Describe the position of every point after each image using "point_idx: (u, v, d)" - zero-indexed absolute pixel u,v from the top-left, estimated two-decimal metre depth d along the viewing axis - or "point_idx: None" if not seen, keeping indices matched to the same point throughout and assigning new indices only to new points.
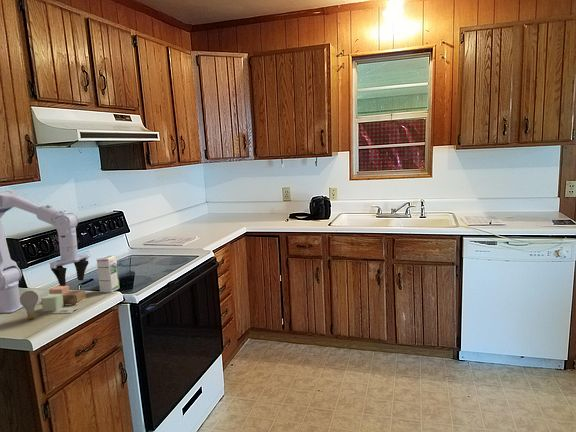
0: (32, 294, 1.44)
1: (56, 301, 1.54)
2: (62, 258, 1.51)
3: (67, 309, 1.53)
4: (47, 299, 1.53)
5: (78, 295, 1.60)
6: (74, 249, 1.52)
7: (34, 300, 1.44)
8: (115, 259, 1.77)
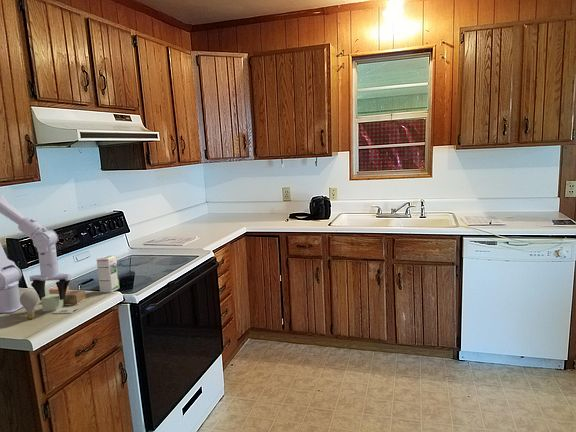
0: (32, 294, 1.44)
1: (56, 301, 1.54)
2: None
3: (67, 309, 1.53)
4: (47, 299, 1.53)
5: (78, 295, 1.60)
6: (44, 268, 1.51)
7: (34, 300, 1.44)
8: (115, 259, 1.77)
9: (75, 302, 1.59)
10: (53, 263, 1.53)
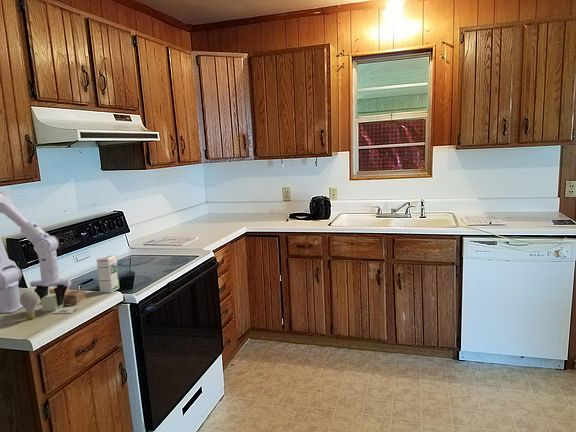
0: (32, 294, 1.44)
1: (56, 300, 1.54)
2: None
3: (67, 309, 1.53)
4: (47, 299, 1.53)
5: (78, 295, 1.60)
6: (45, 274, 1.52)
7: (34, 300, 1.44)
8: (115, 259, 1.77)
9: (75, 302, 1.59)
10: (54, 269, 1.53)
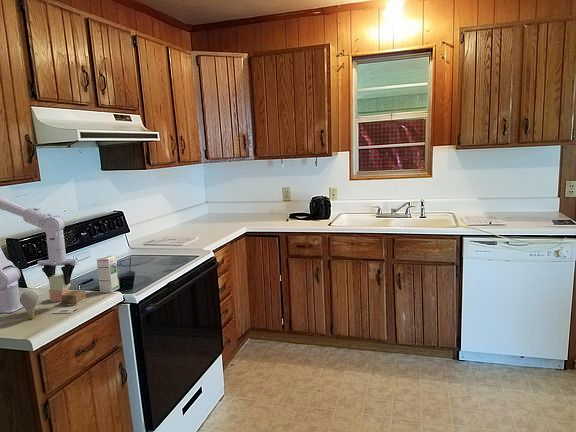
0: (32, 294, 1.44)
1: (63, 280, 1.55)
2: None
3: (67, 309, 1.53)
4: (55, 278, 1.55)
5: (77, 295, 1.60)
6: (52, 253, 1.54)
7: (34, 300, 1.44)
8: (115, 259, 1.77)
9: (74, 302, 1.59)
10: (62, 248, 1.55)
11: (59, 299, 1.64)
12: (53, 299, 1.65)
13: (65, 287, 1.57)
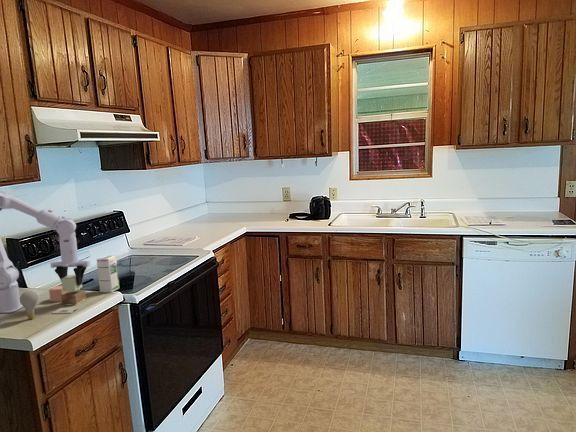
0: (32, 294, 1.44)
1: (75, 281, 1.60)
2: None
3: (67, 309, 1.53)
4: (67, 280, 1.59)
5: (77, 295, 1.60)
6: (65, 254, 1.58)
7: (34, 300, 1.44)
8: (115, 259, 1.77)
9: (74, 302, 1.59)
10: (75, 249, 1.60)
11: (59, 299, 1.64)
12: (53, 299, 1.65)
13: (77, 288, 1.61)
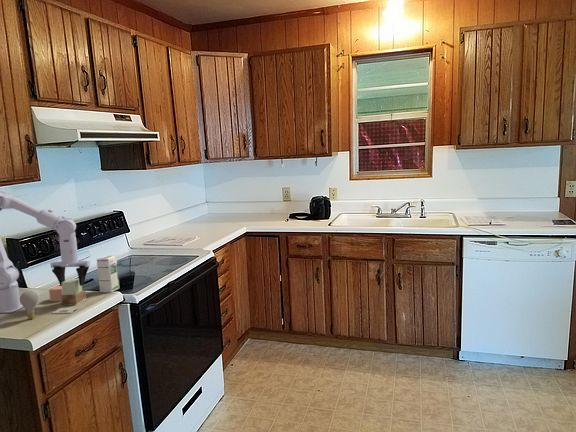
0: (32, 294, 1.44)
1: (75, 285, 1.60)
2: None
3: (67, 309, 1.53)
4: (67, 283, 1.59)
5: (77, 295, 1.60)
6: (65, 254, 1.58)
7: (34, 300, 1.44)
8: (115, 259, 1.77)
9: (74, 302, 1.59)
10: (75, 249, 1.60)
11: (59, 299, 1.64)
12: (53, 299, 1.65)
13: (77, 292, 1.61)
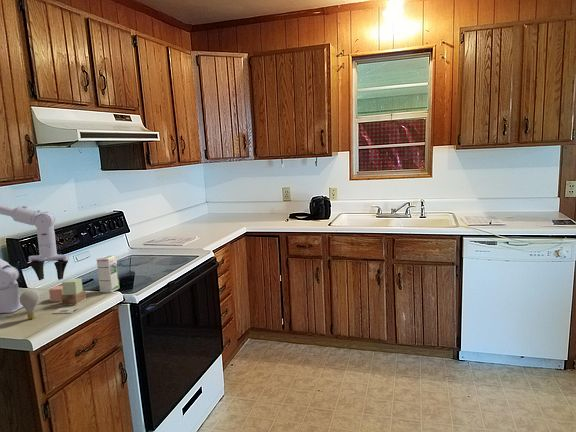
0: (32, 294, 1.44)
1: (76, 284, 1.60)
2: None
3: (67, 309, 1.53)
4: (68, 283, 1.59)
5: (77, 295, 1.60)
6: (43, 248, 1.56)
7: (34, 300, 1.44)
8: (115, 259, 1.77)
9: (74, 302, 1.59)
10: (54, 243, 1.58)
11: (59, 299, 1.64)
12: (53, 299, 1.65)
13: (78, 291, 1.61)
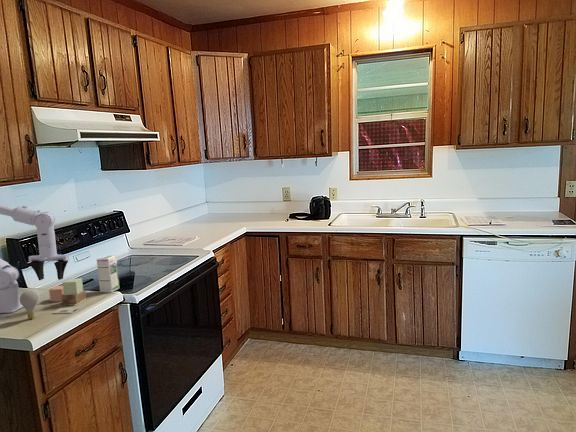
0: (32, 294, 1.44)
1: (77, 284, 1.60)
2: None
3: (67, 309, 1.53)
4: (69, 283, 1.59)
5: (77, 296, 1.60)
6: (43, 248, 1.56)
7: (34, 300, 1.44)
8: (115, 259, 1.77)
9: (74, 302, 1.59)
10: (54, 243, 1.58)
11: (59, 299, 1.64)
12: (53, 299, 1.65)
13: (78, 291, 1.61)
